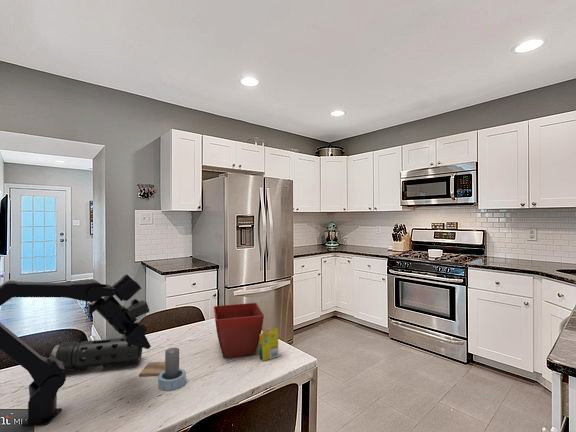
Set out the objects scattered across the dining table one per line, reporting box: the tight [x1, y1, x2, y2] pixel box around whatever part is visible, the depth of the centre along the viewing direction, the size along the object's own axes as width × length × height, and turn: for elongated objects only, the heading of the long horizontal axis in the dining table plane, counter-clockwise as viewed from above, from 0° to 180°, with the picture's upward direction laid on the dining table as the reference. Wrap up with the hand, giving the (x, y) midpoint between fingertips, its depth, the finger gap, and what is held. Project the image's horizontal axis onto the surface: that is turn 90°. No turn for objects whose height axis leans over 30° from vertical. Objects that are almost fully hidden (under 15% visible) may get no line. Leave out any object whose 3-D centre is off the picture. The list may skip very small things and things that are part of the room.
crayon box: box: [258, 327, 279, 362], centre depth 121 cm, size 7×3×12 cm, turn 122°
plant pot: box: [213, 302, 265, 359], centre depth 128 cm, size 19×19×17 cm
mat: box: [138, 361, 165, 377], centre depth 111 cm, size 9×9×1 cm
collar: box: [157, 367, 187, 392], centre depth 102 cm, size 8×8×3 cm
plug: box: [164, 347, 180, 380], centre depth 102 cm, size 4×4×11 cm
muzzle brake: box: [50, 337, 143, 372], centre depth 113 cm, size 10×28×10 cm, turn 105°
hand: (145, 343), depth 102 cm, fingers open, 9 cm apart
